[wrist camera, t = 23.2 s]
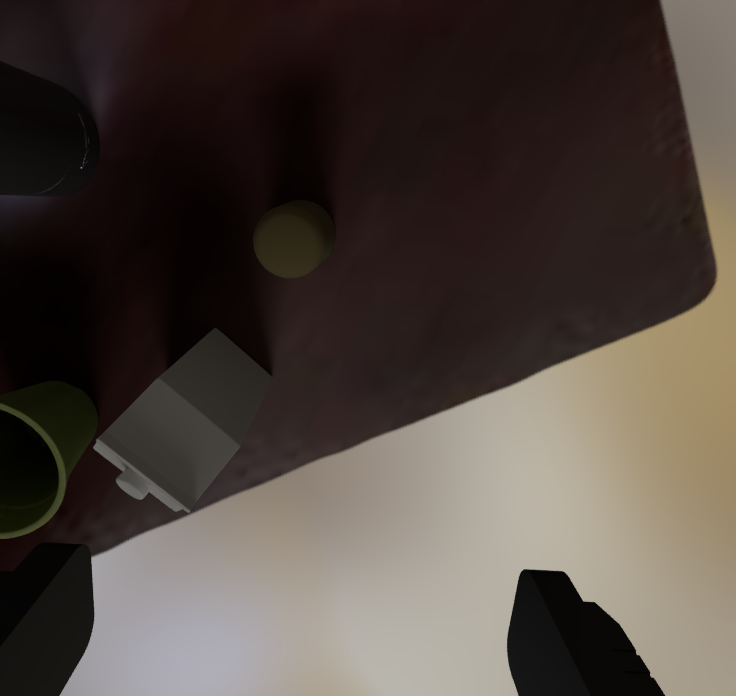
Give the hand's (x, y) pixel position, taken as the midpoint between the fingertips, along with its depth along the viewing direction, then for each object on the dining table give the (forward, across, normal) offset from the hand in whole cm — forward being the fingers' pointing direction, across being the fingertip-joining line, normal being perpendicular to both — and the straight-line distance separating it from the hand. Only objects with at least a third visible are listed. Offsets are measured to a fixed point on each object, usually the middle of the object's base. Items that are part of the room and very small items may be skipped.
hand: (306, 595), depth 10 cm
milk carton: (+40, +11, +10) cm, 43 cm away
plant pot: (+40, +26, +15) cm, 50 cm away
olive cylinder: (+40, +4, -4) cm, 40 cm away
